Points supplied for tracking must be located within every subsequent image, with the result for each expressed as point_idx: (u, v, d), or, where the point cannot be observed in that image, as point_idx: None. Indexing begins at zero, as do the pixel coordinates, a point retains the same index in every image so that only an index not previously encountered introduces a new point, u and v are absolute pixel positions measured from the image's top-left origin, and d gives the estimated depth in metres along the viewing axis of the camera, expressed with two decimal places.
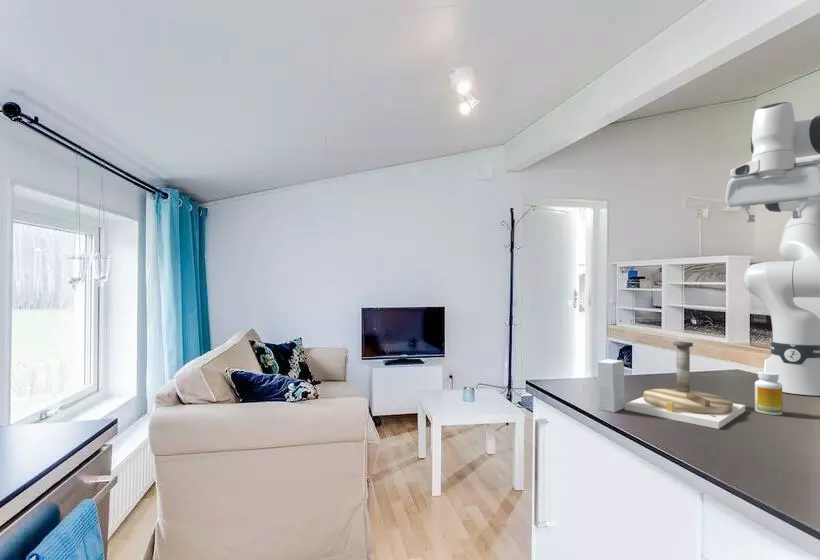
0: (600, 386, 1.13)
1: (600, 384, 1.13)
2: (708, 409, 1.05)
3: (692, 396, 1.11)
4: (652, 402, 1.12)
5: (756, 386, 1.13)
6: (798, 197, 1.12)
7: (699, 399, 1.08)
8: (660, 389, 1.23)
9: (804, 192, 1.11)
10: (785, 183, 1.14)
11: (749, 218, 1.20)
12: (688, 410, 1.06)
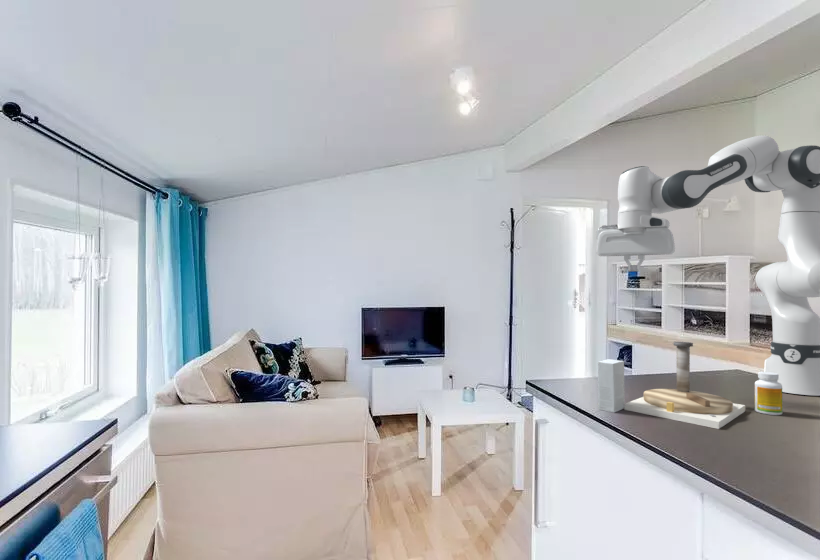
0: (600, 386, 1.13)
1: (600, 384, 1.13)
2: (708, 409, 1.05)
3: (692, 396, 1.11)
4: (652, 402, 1.12)
5: (756, 386, 1.13)
6: None
7: (699, 399, 1.08)
8: (660, 389, 1.23)
9: None
10: None
11: None
12: (688, 410, 1.06)
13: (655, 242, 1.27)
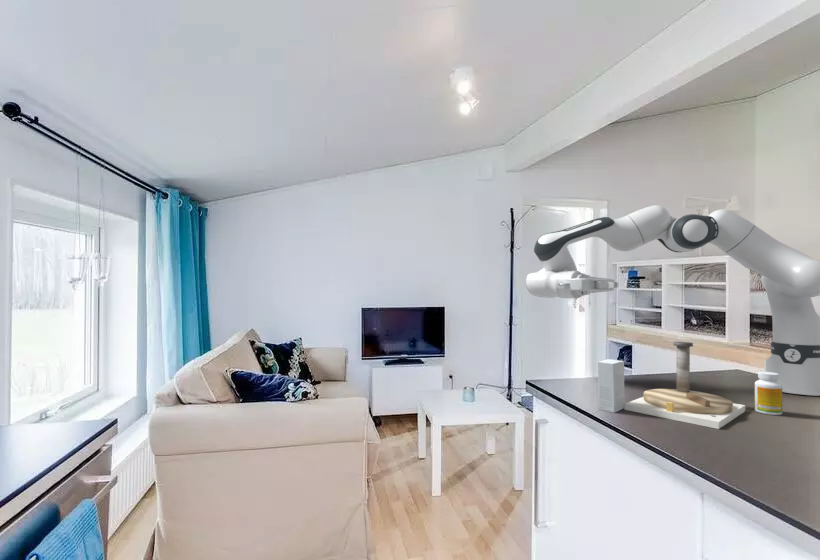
0: (600, 386, 1.13)
1: (600, 384, 1.13)
2: (708, 409, 1.05)
3: (692, 396, 1.11)
4: (652, 402, 1.12)
5: (756, 386, 1.13)
6: (591, 290, 1.36)
7: (699, 399, 1.08)
8: (660, 389, 1.23)
9: None
10: None
11: None
12: (688, 410, 1.06)
13: None
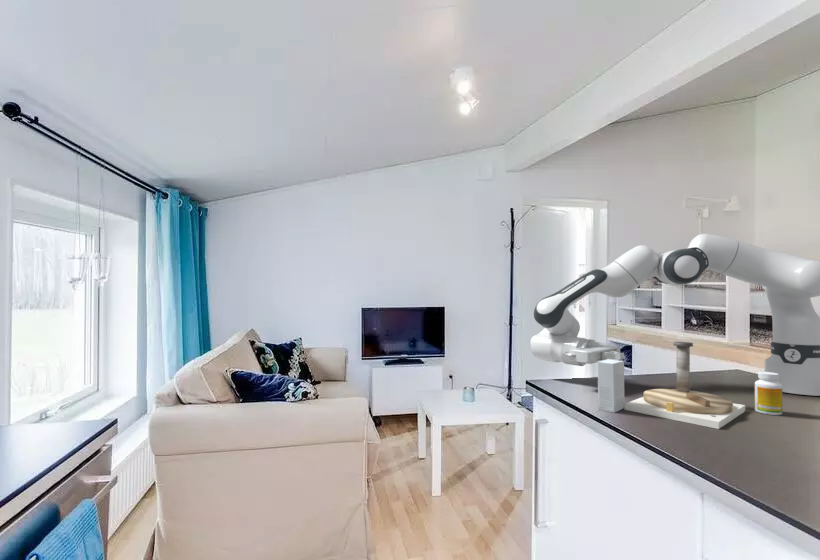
0: (600, 386, 1.13)
1: (600, 384, 1.13)
2: (708, 409, 1.05)
3: (692, 396, 1.11)
4: (652, 402, 1.12)
5: (756, 386, 1.13)
6: None
7: (699, 399, 1.08)
8: (660, 389, 1.23)
9: None
10: None
11: None
12: (688, 410, 1.06)
13: (604, 346, 1.43)
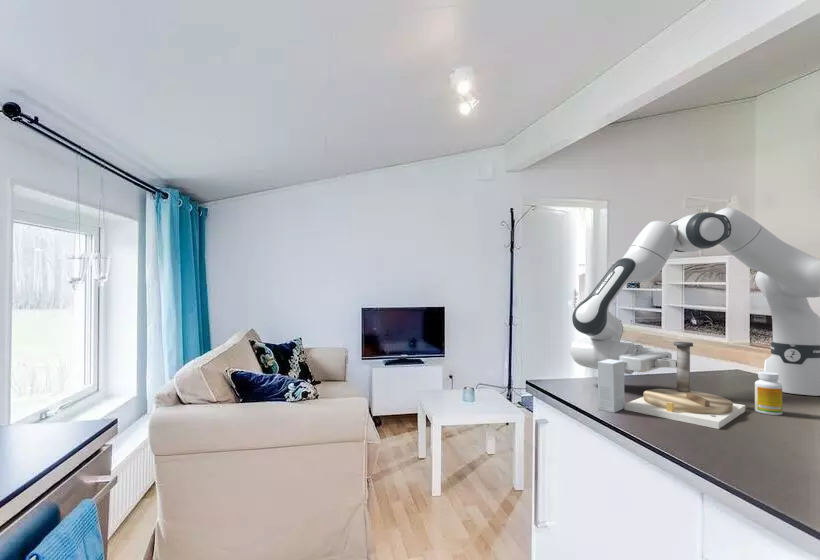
0: (601, 386, 1.13)
1: (600, 384, 1.13)
2: (708, 409, 1.05)
3: (692, 396, 1.11)
4: (652, 402, 1.13)
5: (756, 386, 1.13)
6: None
7: (699, 399, 1.08)
8: (660, 389, 1.23)
9: None
10: None
11: None
12: (688, 410, 1.06)
13: (654, 352, 1.32)
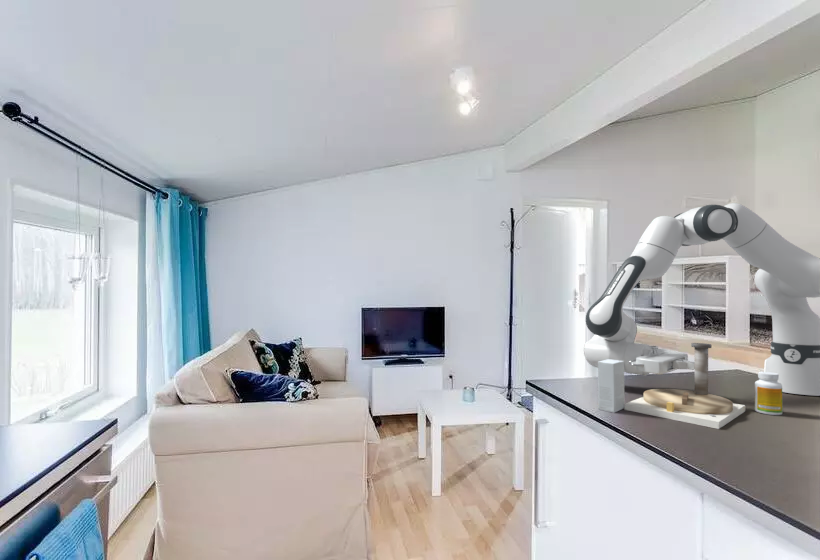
0: (601, 386, 1.13)
1: (600, 384, 1.13)
2: (683, 407, 1.06)
3: (683, 395, 1.11)
4: None
5: (756, 386, 1.13)
6: None
7: None
8: (678, 389, 1.23)
9: None
10: None
11: None
12: (665, 406, 1.09)
13: (670, 353, 1.30)
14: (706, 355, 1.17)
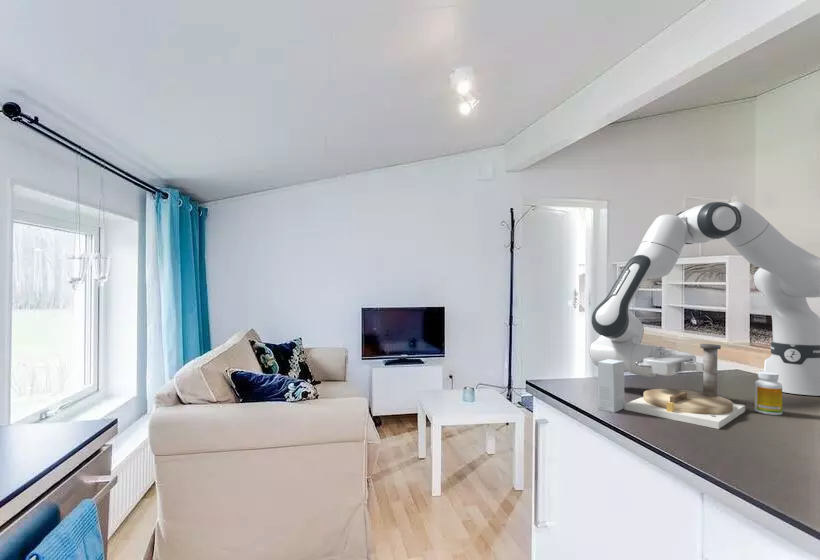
0: (600, 386, 1.13)
1: (600, 384, 1.13)
2: None
3: None
4: None
5: (756, 386, 1.13)
6: (676, 373, 1.18)
7: None
8: (688, 390, 1.21)
9: None
10: None
11: None
12: (655, 404, 1.12)
13: (678, 354, 1.28)
14: (714, 356, 1.15)
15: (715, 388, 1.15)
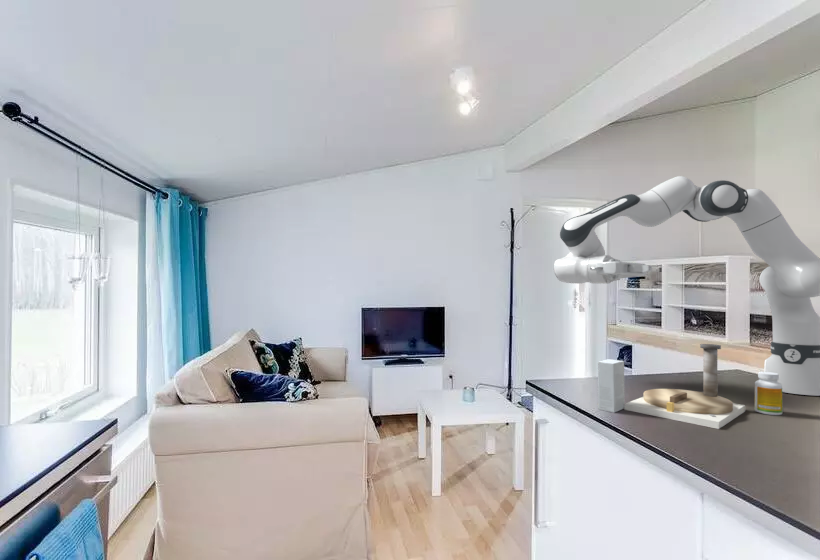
0: (601, 386, 1.13)
1: (600, 384, 1.13)
2: None
3: None
4: None
5: (756, 386, 1.13)
6: (625, 273, 1.33)
7: None
8: None
9: (619, 274, 1.33)
10: None
11: (648, 271, 1.34)
12: (655, 404, 1.12)
13: None
14: (714, 356, 1.15)
15: (715, 388, 1.15)
